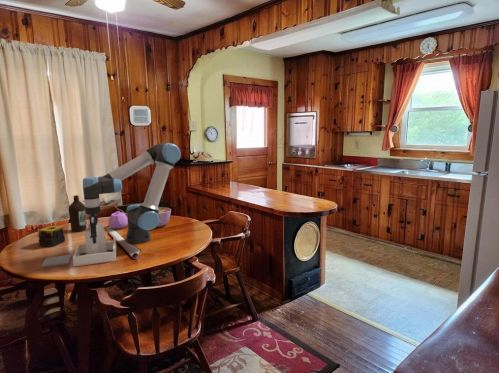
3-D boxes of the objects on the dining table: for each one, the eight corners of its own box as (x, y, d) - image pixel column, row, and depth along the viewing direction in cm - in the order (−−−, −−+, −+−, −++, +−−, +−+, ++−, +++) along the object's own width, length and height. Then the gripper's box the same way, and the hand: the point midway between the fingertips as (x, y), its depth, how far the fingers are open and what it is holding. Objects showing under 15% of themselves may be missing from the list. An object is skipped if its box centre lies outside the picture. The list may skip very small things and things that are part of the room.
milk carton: (106, 255, 178) (104, 222, 175) (96, 259, 172) (92, 225, 169) (97, 253, 181) (94, 220, 178) (86, 257, 175) (83, 224, 172)
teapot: (110, 224, 239) (109, 209, 238) (129, 223, 243) (128, 208, 241) (107, 232, 221) (105, 216, 219) (127, 230, 224) (126, 214, 223)
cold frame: (116, 248, 189) (115, 237, 188) (115, 260, 171) (114, 248, 170) (78, 253, 182) (77, 241, 181) (73, 266, 164) (72, 253, 163)
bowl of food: (142, 223, 242) (141, 208, 240) (168, 220, 250) (168, 206, 248) (145, 230, 224) (144, 214, 222) (174, 227, 232) (173, 211, 231)
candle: (52, 247, 192) (51, 231, 190) (38, 246, 194) (36, 230, 192) (65, 241, 202) (64, 226, 200) (52, 240, 204) (50, 225, 202)
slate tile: (71, 256, 177) (71, 254, 177) (68, 264, 166) (68, 262, 166) (46, 259, 173) (46, 257, 173) (41, 267, 162) (41, 266, 162)
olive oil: (66, 232, 221) (63, 196, 217) (77, 227, 231) (74, 194, 227) (80, 233, 219) (77, 197, 215) (90, 228, 230) (87, 194, 226)
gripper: (86, 202, 181) (90, 240, 185) (82, 211, 160) (86, 253, 164) (101, 201, 184) (104, 238, 187) (98, 210, 163) (102, 251, 167)
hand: (96, 245), depth 176 cm, fingers closed on milk carton, 10 cm apart
